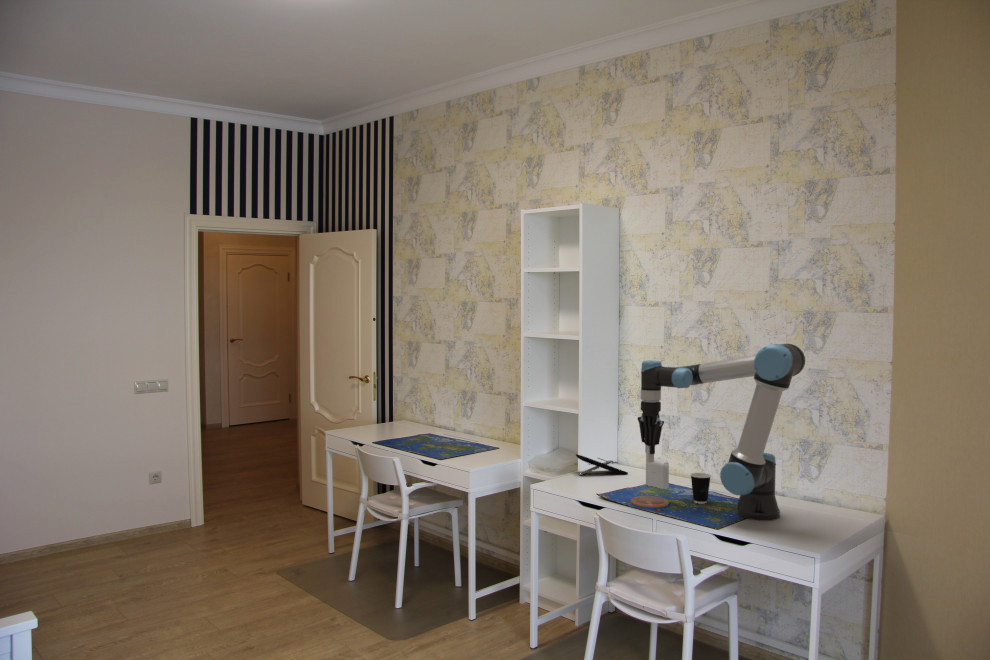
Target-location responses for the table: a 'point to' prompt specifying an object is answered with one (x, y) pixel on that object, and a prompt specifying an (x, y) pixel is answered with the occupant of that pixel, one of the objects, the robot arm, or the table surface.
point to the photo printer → (657, 474)
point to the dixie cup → (700, 487)
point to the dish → (650, 501)
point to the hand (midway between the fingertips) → (649, 462)
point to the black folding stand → (600, 465)
